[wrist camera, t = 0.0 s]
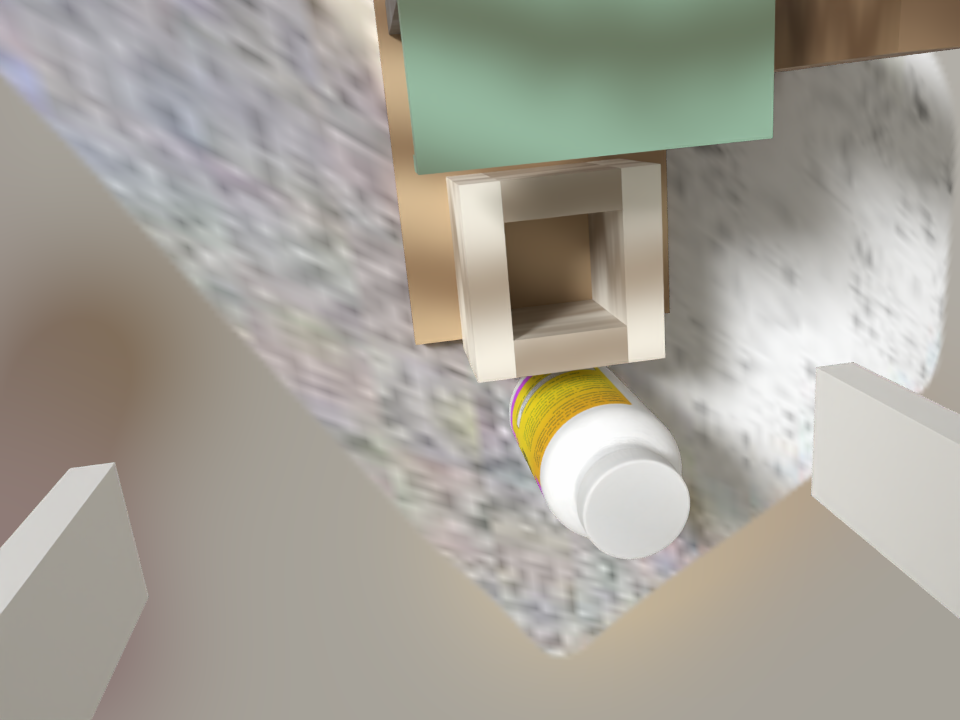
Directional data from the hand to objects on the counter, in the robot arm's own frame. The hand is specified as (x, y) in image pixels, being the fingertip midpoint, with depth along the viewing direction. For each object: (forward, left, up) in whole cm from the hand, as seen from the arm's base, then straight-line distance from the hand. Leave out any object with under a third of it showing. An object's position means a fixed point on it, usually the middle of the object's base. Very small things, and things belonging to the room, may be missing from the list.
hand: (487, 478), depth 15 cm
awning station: (-4, +7, -28) cm, 29 cm away
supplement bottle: (+10, +8, -28) cm, 31 cm away
